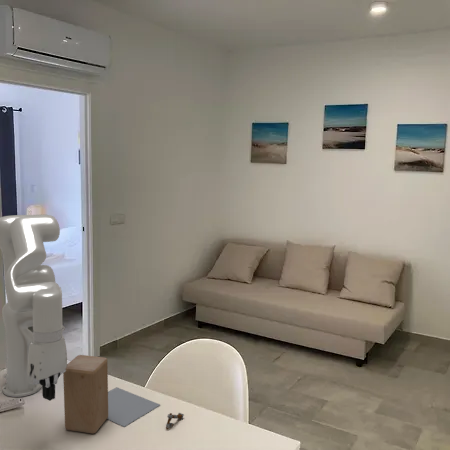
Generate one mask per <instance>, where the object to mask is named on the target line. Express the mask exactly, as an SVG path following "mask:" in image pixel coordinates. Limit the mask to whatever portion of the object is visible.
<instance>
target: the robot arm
mask: <svg viewBox="0 0 450 450" xmlns="http://www.w3.org/2000/svg"><path fill="white" fill-rule="evenodd" d="M60 233H61V230H60V225H59V221H58V219H56V217H55V216H54V215H50V214H16V215H4V216H0V251H1V254H2V258H3V273H4V290H5V294H6V299H7V302H6V303H5V304H4V305H3V307H2V308H1V309H2V310H1V311H2V312H1V314H2V315H1V316H2V320H3V325H4V333H5V347H6V350H5V351H6V354H5V355H6V373H4V374H3V379H5V380H6V383H5V384H3V386H2V393H3V394H4V395H5V396H7V397H13V398H22V397H27V396H31V395H34V394H36V393H37V392H39V391H40V390H41V389H42V392H41V393H42V398H43V399H45V400H47V401H52V400H55V399H56V385H58V384H57V383H58V380H59V378H60V376H61V375H63V373H64V372H65V371H66V367H67V364H68V351H67V345H66V341H65V336H64V335H63V331H65V330H66V327H65V326H64V325H63V292H62V287H61V286H60V285H59V284H58V283H57V282H56V276H55V273H54V270H53V268H52V267H51V266H49V265H47V264H44V262H45V261H46V259H47V252H46V248H45V245H44V243H49V242H50V243H51V242H56V241H58V240H59V238H60ZM31 327H32V331H31V330H30V329H29V328H31Z"/></svg>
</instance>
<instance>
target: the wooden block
mask: <svg viewBox="0 0 450 450" xmlns="http://www.w3.org/2000/svg"><path fill="white" fill-rule="evenodd" d="M108 370H109V369H108V358H106V357H104V356H103V357H102V356H95V355H93V356H92V355H86V354H84V355H83V354H78V355H77V356H75V357H74V358H73V359H72V360H71V361H68V362H67V367H66V371H65V372H64V373H63V374H62V375H63V376H62V377H63V403H64V404H63V406H64V408H63V409H64V410H63V411H64V427H65V430H67V431H73V432H79V433H80V432H81V433H87V434H96V433H97V432H98V430H99V429H100V428H101V426H103V424H104V423H105V422H106V420H107V418H108V391H109V379H108V378H109V371H108Z"/></svg>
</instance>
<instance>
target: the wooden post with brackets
mask: <svg viewBox="0 0 450 450" xmlns="http://www.w3.org/2000/svg"><path fill="white" fill-rule="evenodd" d="M184 416H185V414H184V413H182V412H178V414H173V413H171V412H169V414H167V422H166V424H165V429H166V430H168V429H169V428H172V427H174V426H175V425H174V422H171V421H172V419H177V420H180V421H183V419H184Z"/></svg>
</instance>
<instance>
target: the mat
mask: <svg viewBox="0 0 450 450" xmlns="http://www.w3.org/2000/svg"><path fill="white" fill-rule="evenodd" d="M159 407H161V404H160V403H157V402H155V401H152V400H150V399H148V398H145V397H143V396H141V395H140V396H139V395H137V394H135V393H132V392H130V391H127V390H125V389H122V388H121V387H115V388H112V389H111V390H108V418H107V419H106V420H108V421H109V420H110V421H109V422H111V421H112V422H111V423H114V424H115V425H118V426H121V427H123V428H126V427H127V426H129V425H131V424H132V423H134V422H135V421H137V420H138V419H140V418H143V416H144V417H145V415H147V414H149V413H150V412H152V411H154V410H155V409H157V408H159Z"/></svg>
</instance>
